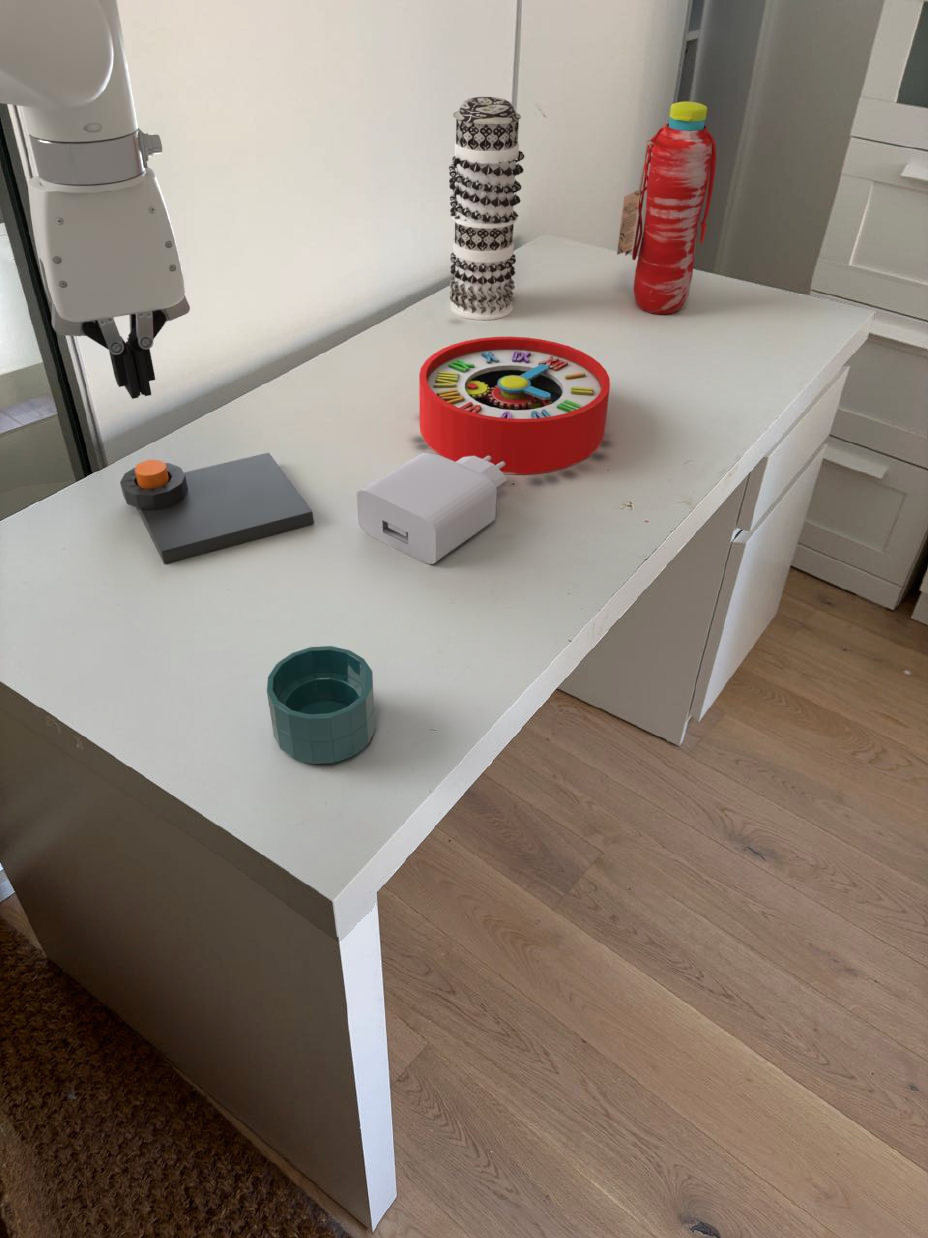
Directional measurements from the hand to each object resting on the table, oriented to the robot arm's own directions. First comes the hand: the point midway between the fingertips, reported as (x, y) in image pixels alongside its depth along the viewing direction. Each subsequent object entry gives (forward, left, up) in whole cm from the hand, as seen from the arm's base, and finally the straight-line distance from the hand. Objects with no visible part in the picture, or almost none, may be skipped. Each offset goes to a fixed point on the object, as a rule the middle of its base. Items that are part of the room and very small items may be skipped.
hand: (137, 390), depth 82 cm
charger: (+24, -11, -13) cm, 30 cm away
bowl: (+3, -32, -13) cm, 35 cm away
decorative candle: (+51, +31, -13) cm, 61 cm away
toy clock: (+38, +1, -13) cm, 40 cm away
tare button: (0, +2, -10) cm, 10 cm away
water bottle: (+72, +22, -13) cm, 76 cm away
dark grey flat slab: (+5, -1, -13) cm, 14 cm away
